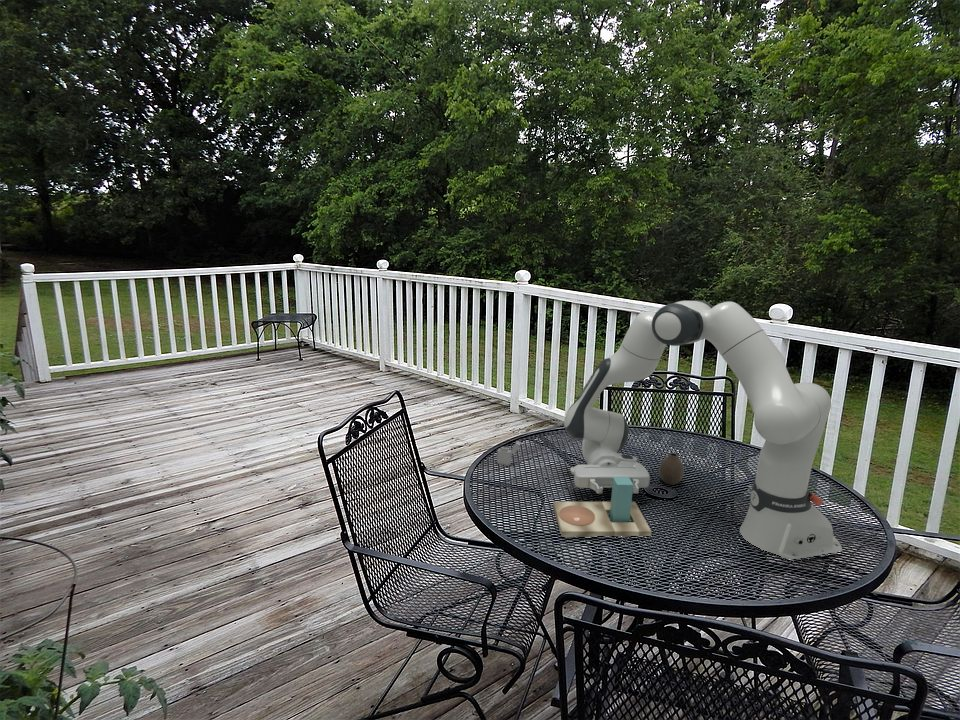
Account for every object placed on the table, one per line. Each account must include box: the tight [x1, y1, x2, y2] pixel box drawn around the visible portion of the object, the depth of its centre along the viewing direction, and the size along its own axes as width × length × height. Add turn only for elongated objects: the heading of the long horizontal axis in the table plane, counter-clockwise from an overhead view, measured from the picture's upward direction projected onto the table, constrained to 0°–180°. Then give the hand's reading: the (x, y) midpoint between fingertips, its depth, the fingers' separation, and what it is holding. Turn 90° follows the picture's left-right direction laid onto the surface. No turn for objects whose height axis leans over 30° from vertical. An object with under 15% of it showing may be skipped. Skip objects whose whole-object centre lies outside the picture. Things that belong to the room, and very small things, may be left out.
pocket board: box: [552, 501, 652, 537], centre depth 146 cm, size 22×14×2 cm, turn 92°
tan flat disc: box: [559, 506, 595, 526], centre depth 146 cm, size 9×9×1 cm
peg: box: [609, 477, 633, 522], centre depth 145 cm, size 4×4×12 cm
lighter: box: [496, 440, 522, 466], centre depth 176 cm, size 7×2×8 cm, turn 72°
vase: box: [658, 452, 685, 486], centre depth 167 cm, size 7×7×9 cm
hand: (617, 491), depth 148 cm, fingers open, 8 cm apart
